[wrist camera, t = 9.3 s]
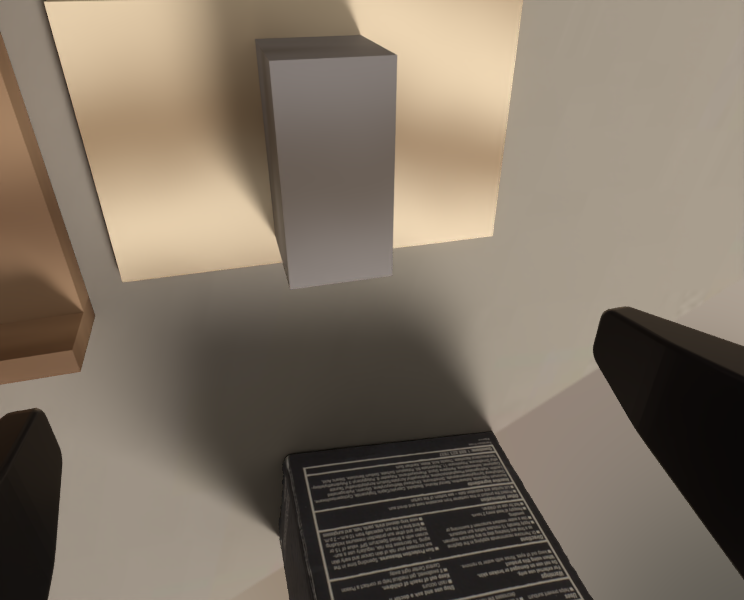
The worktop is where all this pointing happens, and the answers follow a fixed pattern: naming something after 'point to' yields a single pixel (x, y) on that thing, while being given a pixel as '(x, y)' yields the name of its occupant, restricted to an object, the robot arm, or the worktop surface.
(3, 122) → the walnut tray
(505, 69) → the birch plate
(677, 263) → the worktop surface
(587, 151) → the worktop surface
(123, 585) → the worktop surface
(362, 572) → the small box
